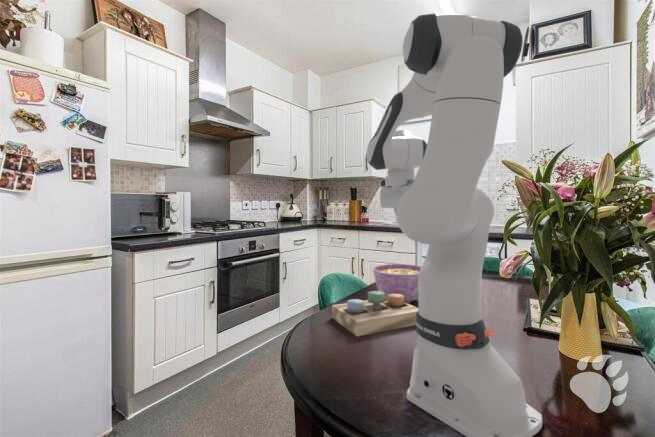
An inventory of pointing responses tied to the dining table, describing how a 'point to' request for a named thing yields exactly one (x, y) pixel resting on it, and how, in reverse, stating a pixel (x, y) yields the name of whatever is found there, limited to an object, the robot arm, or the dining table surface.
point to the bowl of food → (398, 280)
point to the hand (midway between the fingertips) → (401, 221)
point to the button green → (376, 299)
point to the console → (375, 318)
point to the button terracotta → (395, 300)
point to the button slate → (355, 306)
